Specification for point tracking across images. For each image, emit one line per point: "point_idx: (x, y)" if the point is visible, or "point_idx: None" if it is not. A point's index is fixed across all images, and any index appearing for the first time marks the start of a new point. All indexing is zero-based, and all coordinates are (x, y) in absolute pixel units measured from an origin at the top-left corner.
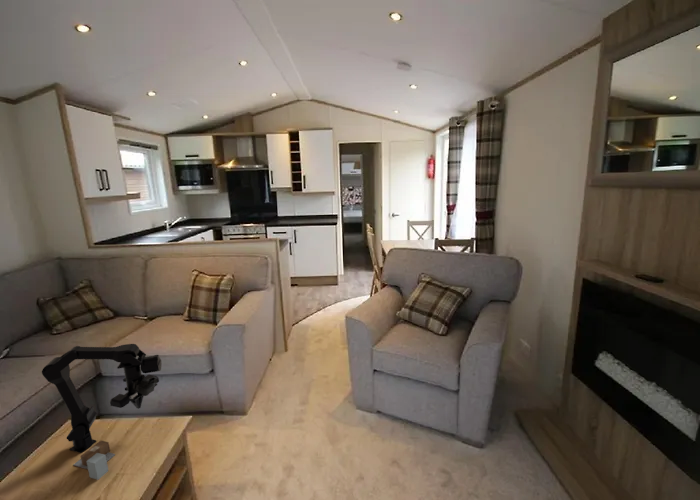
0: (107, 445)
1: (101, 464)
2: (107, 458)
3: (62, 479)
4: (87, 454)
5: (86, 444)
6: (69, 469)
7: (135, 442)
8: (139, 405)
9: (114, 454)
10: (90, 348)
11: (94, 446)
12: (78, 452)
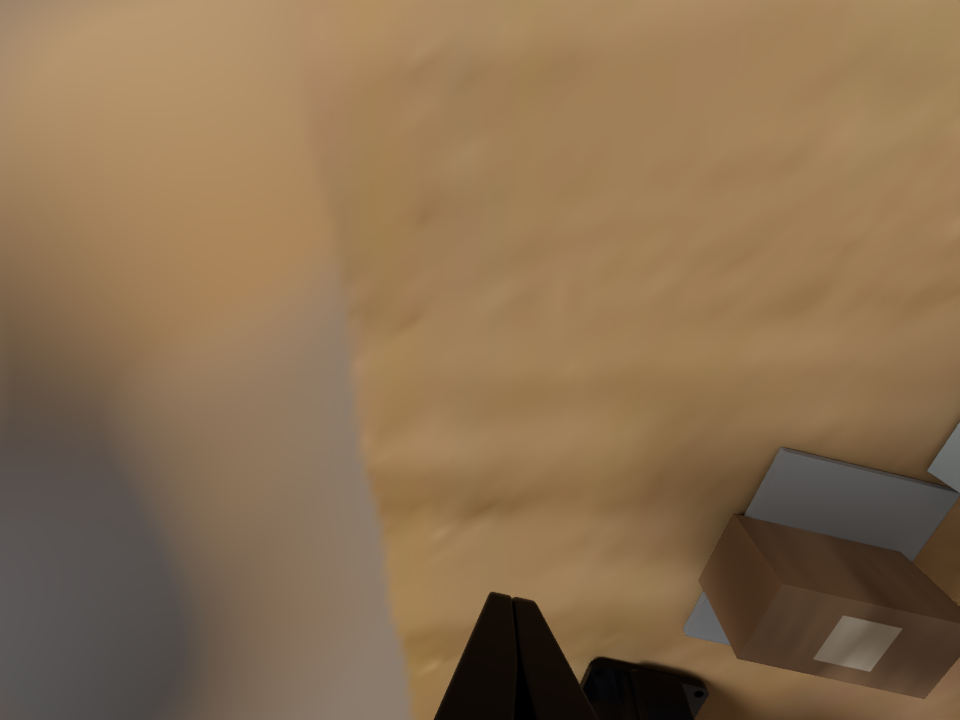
0: (784, 566)
1: None
2: (831, 481)
3: None
4: (923, 659)
5: (688, 712)
6: None
7: (629, 364)
8: (533, 662)
9: (791, 453)
10: None
11: (820, 662)
12: (697, 700)
